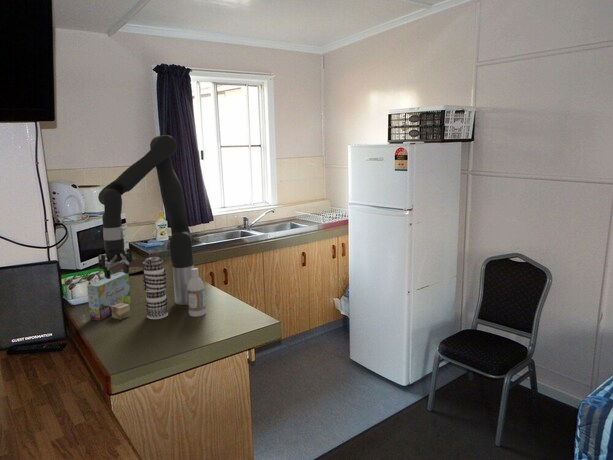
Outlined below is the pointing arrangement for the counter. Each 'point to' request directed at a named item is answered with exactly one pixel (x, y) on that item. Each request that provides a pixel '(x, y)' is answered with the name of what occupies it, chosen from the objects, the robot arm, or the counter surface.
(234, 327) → the counter surface
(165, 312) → the decorative candle
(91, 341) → the counter surface
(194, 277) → the bath foam
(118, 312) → the maple block
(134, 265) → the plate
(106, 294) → the snack box
